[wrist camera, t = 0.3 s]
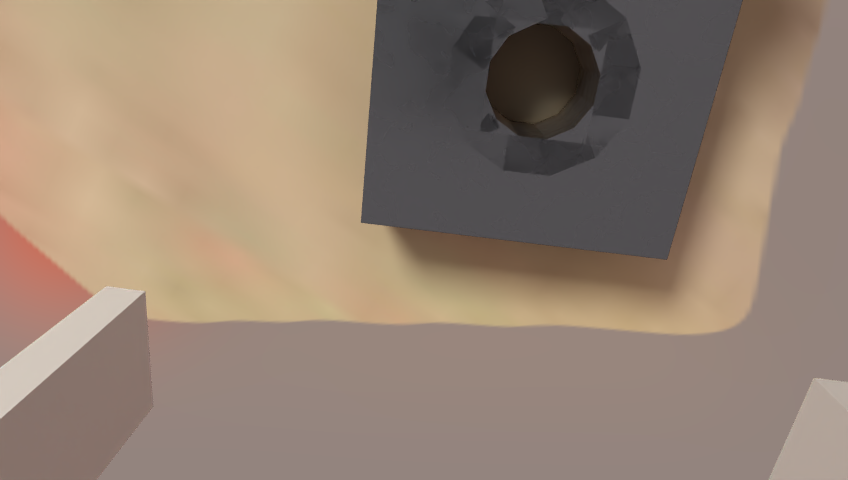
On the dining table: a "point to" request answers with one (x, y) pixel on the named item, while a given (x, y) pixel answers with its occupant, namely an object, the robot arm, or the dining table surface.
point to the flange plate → (551, 138)
